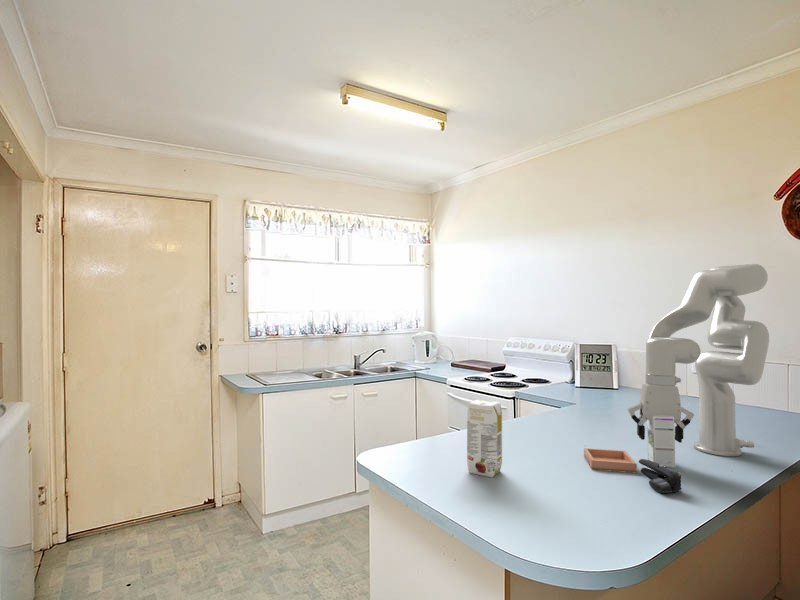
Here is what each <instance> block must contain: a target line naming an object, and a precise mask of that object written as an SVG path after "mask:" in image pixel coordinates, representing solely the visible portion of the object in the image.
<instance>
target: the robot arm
mask: <svg viewBox="0 0 800 600" xmlns="http://www.w3.org/2000/svg"><path fill="white" fill-rule="evenodd" d="M692 276H693V277H692V278H691V280H690V282H689V284H688V287H687V289H686V291H685V293H684V295H683V297H682V299H681V301H680V304H679V305H678V307H677V308H675V309H674V310H672V311H670V312H668V313H667V314H666V315H665V316H664V317H662V318H661V319H660V320H659V321H658V322H656V324H655V325H654V326H653V327H652V329H651V332H650V334H649V337H648V339H647V340H646V343H645V383H642V384H641V385H642V386H641V389H640V395H639V403H637V404H635V405H633V406H630V407H628V408H627V409H626V410H627V412H628V413H629V414H628V415H629V416H630V418H631V419H632V420H633V421H634V422H635V423H636V426H637V427H636V428H637V429H636V430H637V431H636V435H637V436H638V438H639V439H641V440H642V441H644V440H645V439H646V432H645V431H646V427H645V425H644V424H645V423H646V422H647V420H652V419H653V416H673V417H674V424H675V426H674V428H675V442H676V441H677V442H678V443H679V444H680V443H682V441H683V440H684V429H686V427H687V426H688V425H689V424H690V423H691V420H692V419H693V418H694V416H695V414H694V413H693V412H691V411H689V410H688V409H686V408H684V407H682V405H681V404H682V402H681V397H680V392H679V387H678V386H677V384H678V383H682V379H681V377H677V376H676V364H683V365H688V364H693V363H694V367H695V371H696V373H695V374H696V378H697V382H698V400H699V401H698V404H699V405H698V410H699V411H698V413H699V414H698V417H699V418H698V421H699V424H698V425H699V427H698V428H699V430H698V431H699V432H698V433H699V441H695V442H694V443H693V447H694V449H696V450H697V451H700V452H702V453H706V454H711V455H716V456H722V457H738V456H741V455H743V450H742V448H748V449H749V448H750V449H754V448H755V443H754V441H751V440H749V441H748V440H745V439H739V438H737V436H736V435H737V433H736V431H737V430H736V395H735V393H734V390H733V389H732V387H731V386H730V385H729V384H735V385H743V386H753V385H756V384H758V383H759V382H760V381H761V379H762V376H763V374H764V369H765V364H766V359H767V354H768V350H769V344H770V333H769V329H768V327H767V326H766V325H765V324H764V323H763V322H760V321H758V320H757V321H756V320H745V314H746V306H745V304H744V303H743V301H742V300H741V298H739V297H738V296H745V295H749V294H752V293H755V292H759V291H761V290H762V289H763V288H765V286H766V285H767V282H768V277H769V276H768V272H767V269H766V268H765V267H764V266H763V265H760V264H757V263H751V264H750V263H749V264H737V265H736V264H735V265H732V264H731V265H720V266H714V267H711V268H709V269H706V270H701V271H698V272H696V273H695V274H694V275H692ZM711 315H712V316H711ZM710 316H711V319H710ZM708 319H710V323H709V328H708V331H707V342H708V344H709V345H710V346H711V347H713V348H716V349H721V350H730V351H721V350H720V351H719V350H708V351H707V350H706V351H703V352H701V351H702V350H701V347H700V345H699V344H698V343H697V342H696V341H695V340H694V339H690V338H684V337H672V336H673V335H674V334H676V333H677V332H679V331H681V330H683V329H687V328H689V327H693V326H695V325H698V324H700V323H704V322H706V321H707V320H708ZM731 350H732V351H742V353H741V352H740V353H739V352H731ZM637 411H638V414H639V415H640V416H636V414H635V412H637ZM682 413H683V414H685V417H684V418H682ZM681 418H682V420H681Z"/></svg>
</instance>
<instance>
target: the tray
mask: <svg viewBox="0 0 800 600" xmlns="http://www.w3.org/2000/svg"><path fill="white" fill-rule="evenodd" d="M583 457H584V459H585V461H586V462H587V463H588V466H589V467H590V469H591V470H594V469H595V470H597V471H598V470H599V471H607V470H611V472H620V471H625V472H624V473H633V472H637V473H638V471H637V470H638V469H637V468H638V467H637V466H638V464H637V462H636V461H635V460H634V458H633V457H631V455H630V454H628V452H627V451H626V450H615V449H607V448H606V449H604V448H588V447H583ZM595 470H594V471H595Z"/></svg>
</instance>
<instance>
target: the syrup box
mask: <svg viewBox="0 0 800 600" xmlns="http://www.w3.org/2000/svg"><path fill="white" fill-rule="evenodd" d="M646 422H647V423H646V424H647V460H650V461H653V462H655V463H658V464H663V465H664V466H665V467H666V468H676V440H675V422H674V417H673V416H653V419H652V420H647V421H646Z"/></svg>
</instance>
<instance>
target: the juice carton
mask: <svg viewBox="0 0 800 600" xmlns="http://www.w3.org/2000/svg"><path fill="white" fill-rule="evenodd" d="M466 411H467V412H466V413H467V414H466V421H467V422H466V423H467V424H466V426H467V427H466V462H467V470H468V473H470V474H472V475H473V474H474V475H477V476H479V475H480V476H484V477H487V478H494V477H495V476H496V475H497V474H498V473H500V472H501V468H502V464H503V409H502V404H501V402H499V401H486V400H483V399H482V400H481V399H475V400H473V401H470V402H469V403H468V405H467V410H466Z"/></svg>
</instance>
